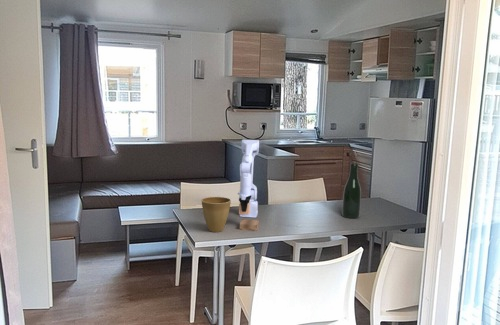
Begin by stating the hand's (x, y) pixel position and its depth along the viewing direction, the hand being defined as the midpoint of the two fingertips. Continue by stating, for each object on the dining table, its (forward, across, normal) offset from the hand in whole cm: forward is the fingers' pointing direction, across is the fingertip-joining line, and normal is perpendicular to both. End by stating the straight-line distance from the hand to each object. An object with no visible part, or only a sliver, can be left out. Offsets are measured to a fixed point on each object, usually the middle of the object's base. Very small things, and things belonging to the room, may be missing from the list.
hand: (244, 210), depth 243 cm
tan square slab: (+8, +3, +3) cm, 9 cm away
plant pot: (+9, +11, -13) cm, 20 cm away
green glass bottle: (+9, -34, +59) cm, 68 cm away
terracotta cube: (+2, 0, 0) cm, 2 cm away
